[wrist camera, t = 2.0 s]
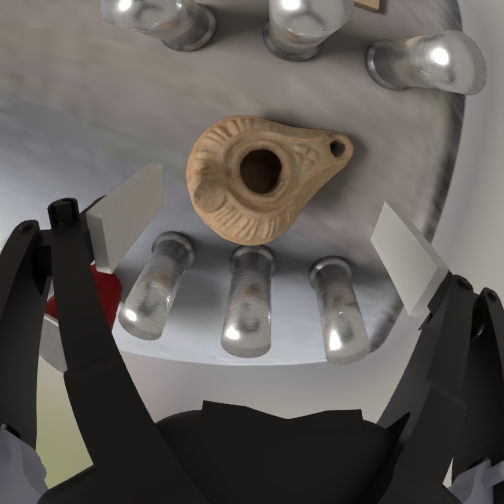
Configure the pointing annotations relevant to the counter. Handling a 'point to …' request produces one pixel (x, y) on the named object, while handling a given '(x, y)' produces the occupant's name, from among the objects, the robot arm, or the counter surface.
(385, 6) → the counter surface
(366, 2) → the ash board
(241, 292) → the posts
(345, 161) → the pottery oil lamp
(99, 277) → the plastic cup
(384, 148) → the counter surface
